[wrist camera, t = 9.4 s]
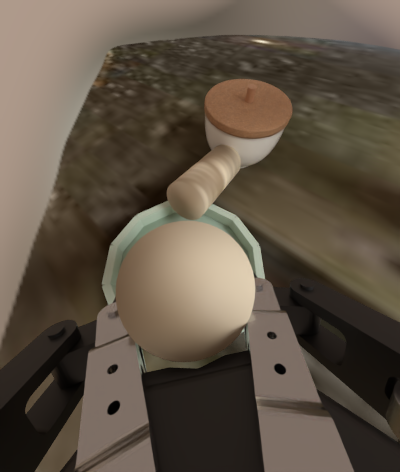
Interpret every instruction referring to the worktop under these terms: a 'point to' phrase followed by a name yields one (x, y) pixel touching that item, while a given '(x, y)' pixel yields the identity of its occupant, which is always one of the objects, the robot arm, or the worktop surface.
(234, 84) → the lidded jar
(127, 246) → the ring dish
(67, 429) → the worktop surface
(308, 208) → the worktop surface
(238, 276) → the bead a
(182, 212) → the beige banded cylinder
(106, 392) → the robot arm
